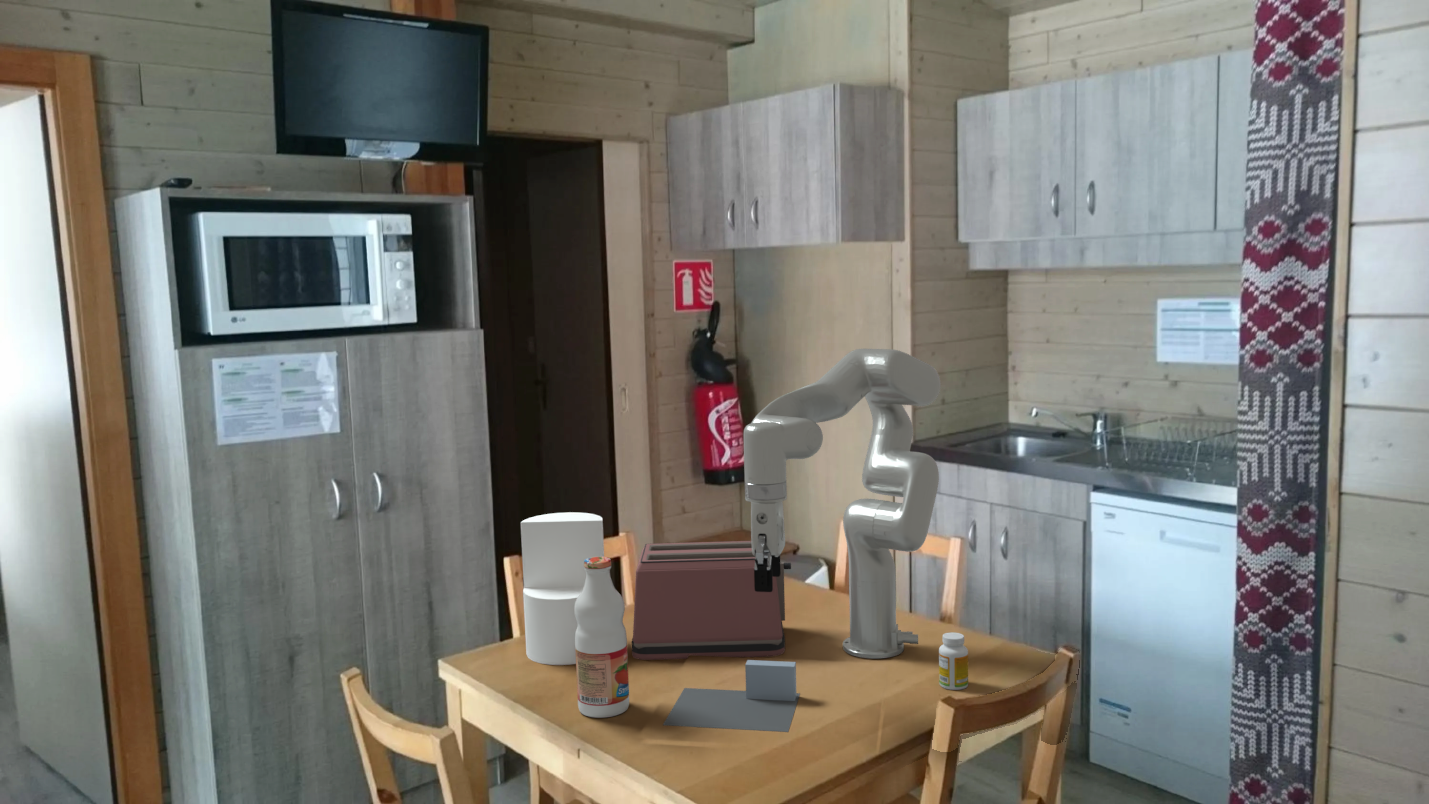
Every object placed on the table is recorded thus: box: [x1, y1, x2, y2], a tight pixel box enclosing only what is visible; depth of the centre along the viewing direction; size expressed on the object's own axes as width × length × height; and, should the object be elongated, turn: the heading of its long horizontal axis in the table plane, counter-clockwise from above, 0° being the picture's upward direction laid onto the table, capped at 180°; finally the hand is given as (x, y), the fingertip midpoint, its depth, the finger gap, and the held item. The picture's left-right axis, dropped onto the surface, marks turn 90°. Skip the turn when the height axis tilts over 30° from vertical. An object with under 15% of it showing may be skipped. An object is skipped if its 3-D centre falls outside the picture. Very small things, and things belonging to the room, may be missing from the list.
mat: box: [662, 687, 801, 733], centre depth 194 cm, size 22×17×1 cm
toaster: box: [630, 540, 792, 661], centre depth 230 cm, size 19×34×20 cm, turn 90°
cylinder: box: [520, 511, 605, 666], centre depth 228 cm, size 17×17×28 cm
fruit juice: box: [574, 556, 630, 719], centre depth 196 cm, size 9×9×28 cm
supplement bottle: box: [938, 632, 969, 691], centre depth 203 cm, size 5×5×10 cm
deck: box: [744, 659, 797, 701], centre depth 198 cm, size 9×2×6 cm, turn 79°
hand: (767, 583), depth 196 cm, fingers open, 9 cm apart
